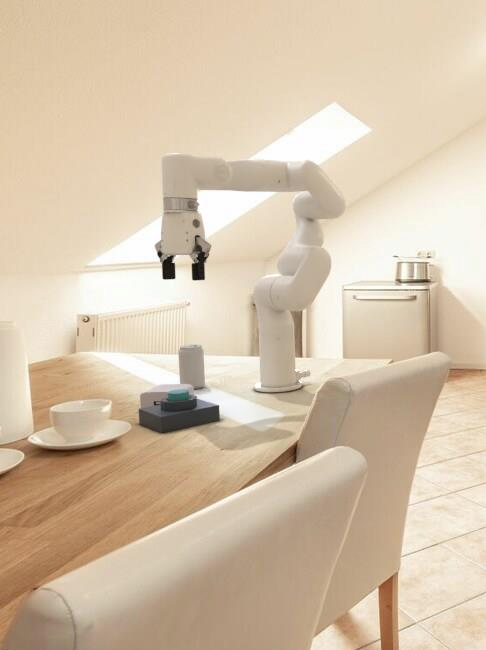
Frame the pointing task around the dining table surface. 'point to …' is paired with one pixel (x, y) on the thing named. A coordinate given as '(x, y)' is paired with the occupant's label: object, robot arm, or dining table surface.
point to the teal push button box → (178, 414)
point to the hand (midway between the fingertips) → (183, 279)
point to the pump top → (178, 395)
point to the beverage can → (192, 365)
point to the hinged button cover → (161, 393)
